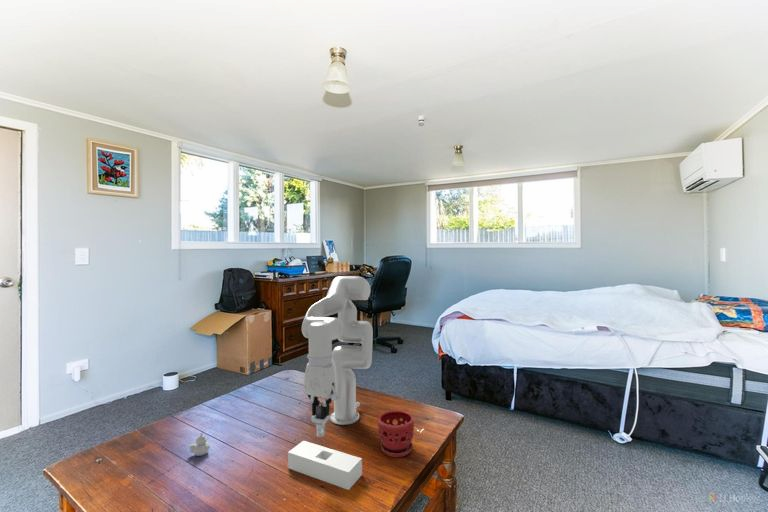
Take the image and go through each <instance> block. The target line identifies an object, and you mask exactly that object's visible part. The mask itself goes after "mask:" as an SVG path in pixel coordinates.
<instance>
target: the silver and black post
mask: <svg viewBox="0 0 768 512" xmlns="http://www.w3.org/2000/svg"><path fill="white" fill-rule="evenodd" d="M322 406H323V401H322V402H321V401H320V403H317V404H316V415H315V416H312V415H311V417H310V419H311V421H310V422H311V423H313V424H315V425H316V426H315V431H316V432H315V434H316V437H317V438H318V437H319V438H323V437H324V436H325V435H326V423H328V422H330V421H331V419H330V416H331V414H329V415H328V416H327V417H325V418H324V419H323V418H322Z"/></svg>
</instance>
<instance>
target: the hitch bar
mask: <svg viewBox="0 0 768 512" xmlns="http://www.w3.org/2000/svg"><path fill="white" fill-rule="evenodd" d="M287 469H290V470H292V471H295V472H297V473H300V474H304V475H306V476H308V477H312V478H314V479H317V480H320V481H323V482H324V483H327V484H330V485H334V486H337V487H340V488H342V489H345V490H348V491H349V490H351V488H352V487H353V486H354V485H355V483H357V481H358V480H359V479H360V477H362V475H363V458H361V457H358V456H355V455H352V454H348V453H346V452H343V451H339V450H336V449H332V448H329V447H326V446H322V445H320V444H316V443H313V442H309V441H306V440H302V441H300V443H298V444H297V445H296V446H294V447H293V448H292V449H290V450H289V451H288V452H287Z"/></svg>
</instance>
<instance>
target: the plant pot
mask: <svg viewBox="0 0 768 512" xmlns="http://www.w3.org/2000/svg"><path fill="white" fill-rule="evenodd" d="M400 419H402V420H400ZM414 419H415V418H414V416H413V415H412V414H411V413H409V412H406V411H403V410H390V411H386V412H383V413H382V414H380V415H379V416H378V418H377V425H378V427H377V428H378V435H379V438H380V441H381V445H380V448H381V451H382V452H383V453H384V454H385V455H387V456H389V457H392V458H399V457H405V456H407V455H409V454H410V453H411V451H412V450H413V446H414V445H413V443H412V441H413V436H414V428H415V427H414V426H415V424H414V423H415V422H414ZM394 420H396V421H397V423H396V424H394V423H393V421H394Z"/></svg>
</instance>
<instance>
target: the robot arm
mask: <svg viewBox="0 0 768 512" xmlns="http://www.w3.org/2000/svg"><path fill="white" fill-rule="evenodd" d="M371 292H372V290H371V285H370V283H369V281H368V280H367V279H365V277H362V276H358V275H351V276H350V275H342V276H341V275H339V276H335V278H333V280H331V283H330V285H329V288H328V290H327V293H326V295H325V297H323V298H322V299H320V300H319V301H317V302H315V303H314V304H312V305H311V306H310V307H308V310H307V311H306V313H305V315H304V318H303V320H302V322H301V323H302V324H301V333H302V335H303V337H304V338H306V339H308V353H307V355H306V359H308V363H306V367H305V370H304V371H305V372H304V378H303V380H304V382H303V383H304V384H303V392H304V394H306V396H307V397H308V399H309V402H310V403H311V411H312V412H311V413H312V414H311V416H315V415H316V404H317V403H320V402H321V401H320V400H319V398H320V399H322V402H323V406H322V418H323V419H324V418H325V417H327V416H328V415H330V422H332V423H333V424H336V425H338V426H339V425H341V426H344V425H345V426H346V425H347V426H348V425H352V424H354V423H356V422H358V420H359V419H360V413H359V412H358V411H357V409H358V407H359V406H360V405H361V402H359V401H357V400H356V399H357V398H356V396H357V395H356V394H357V393H356V392H357V390H356V389H357V387H356V386H357V385H356V383H357V379H356V375H355V373H354V371H353V370H352V369H354V370H356V369H357V370H358V369H359V370H365V369H369V368H371V366H372V362H373V338H374V335H373V334H374V333H373V330H374V329H373V325H372V323H371V322H370V321H366V320H358V319H357V318H358V310H357V307H356V305H355V304H354V303H353V302H352V301H366V300H368V299H369V298H370V296H371ZM335 314H337V317H333V315H335ZM331 315H332V317H330V316H331ZM335 340H338V341H339V342H343V343H355V344H357V343H359V344H361V345H337V346H335V347H334V348H333V344H332V343H333V341H335ZM332 402H333V412H332V413H331V414H330V404H331V403H332Z"/></svg>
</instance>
